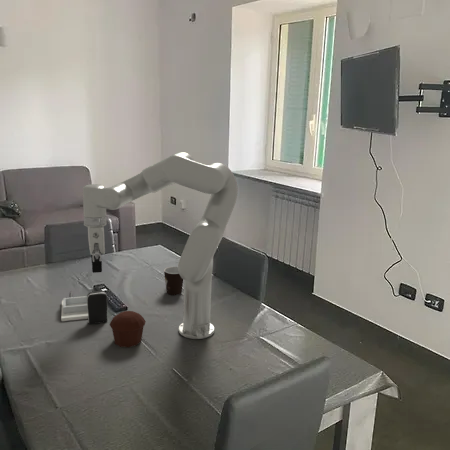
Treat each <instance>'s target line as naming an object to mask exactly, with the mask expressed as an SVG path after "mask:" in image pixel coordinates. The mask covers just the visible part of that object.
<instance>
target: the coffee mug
mask: <svg viewBox="0 0 450 450" xmlns="http://www.w3.org/2000/svg"><path fill="white" fill-rule="evenodd" d="M163 273H164V274H163V275H164V282H165V290H166V295H168V296H179V295H181V294H182V293H183V287H184V279H183V278H182V277H181V276H180V274H179V272H178V266H168V267H165V268H164V269H163Z"/></svg>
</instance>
